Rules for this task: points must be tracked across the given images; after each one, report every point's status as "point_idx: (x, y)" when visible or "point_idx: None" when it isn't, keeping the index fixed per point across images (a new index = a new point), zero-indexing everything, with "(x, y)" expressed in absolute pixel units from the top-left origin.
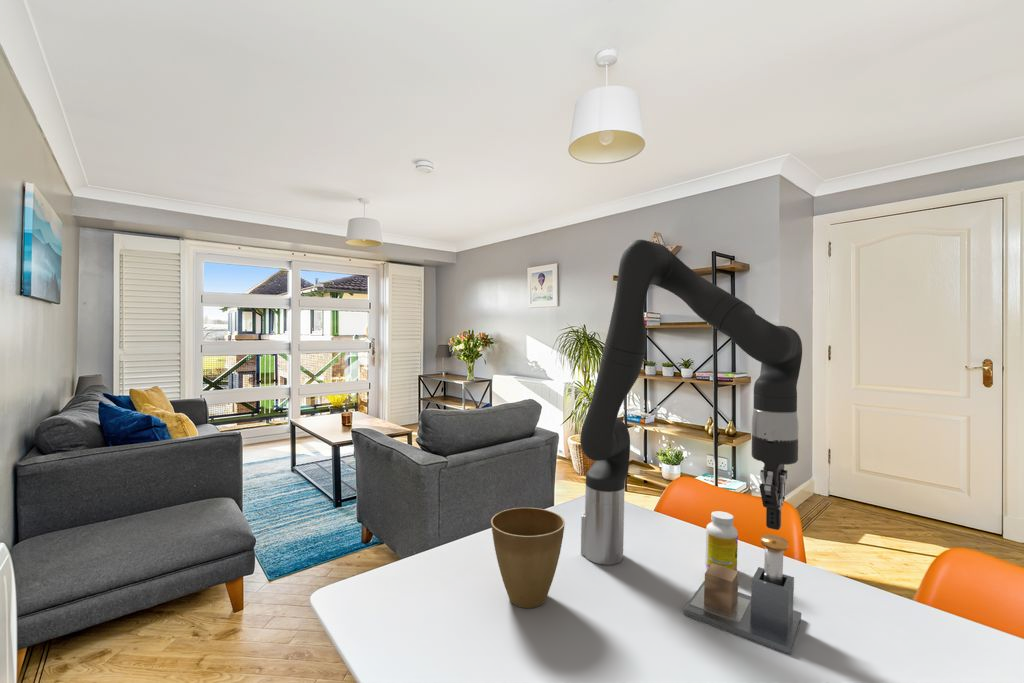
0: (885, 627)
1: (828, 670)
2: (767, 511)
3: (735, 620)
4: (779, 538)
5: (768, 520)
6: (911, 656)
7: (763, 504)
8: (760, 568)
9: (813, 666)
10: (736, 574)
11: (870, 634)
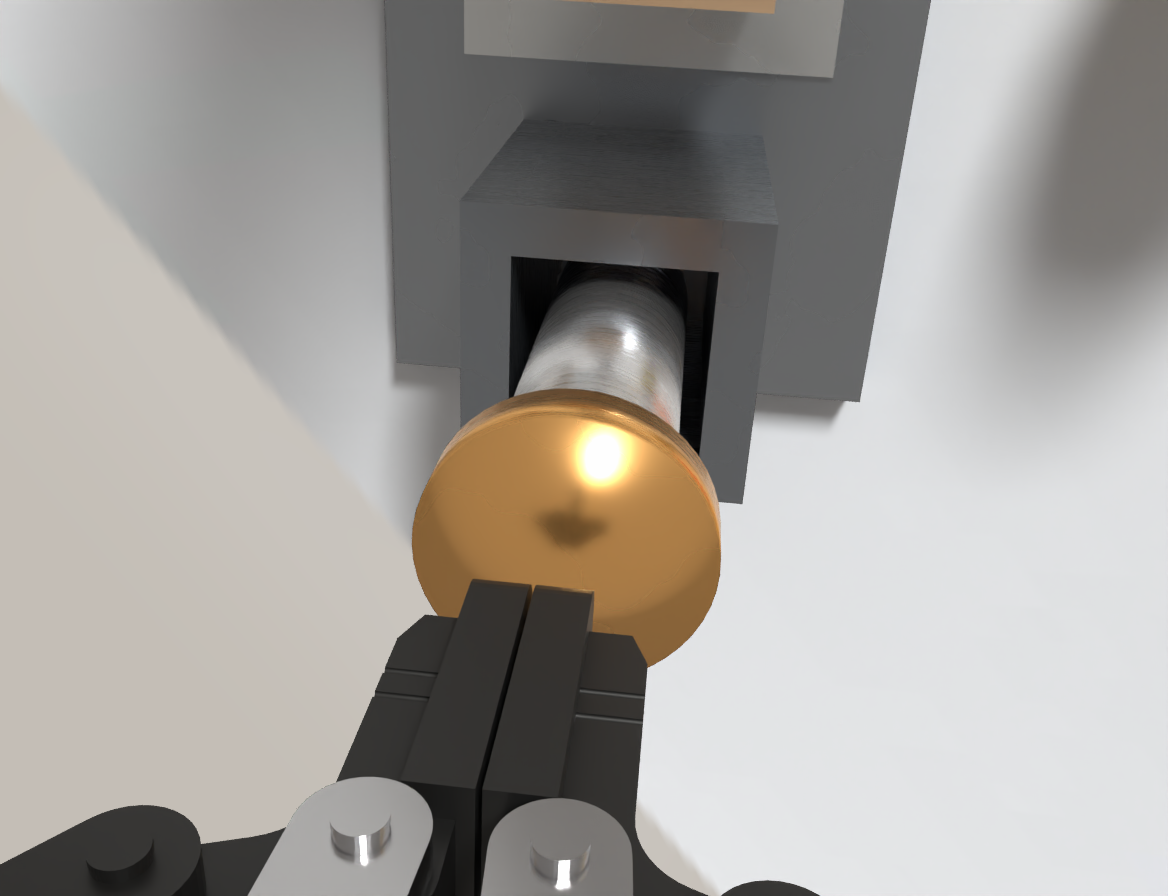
0: (1008, 750)
1: (405, 504)
2: (420, 745)
3: (465, 22)
4: (641, 605)
5: (388, 673)
6: (776, 803)
7: (24, 862)
8: (754, 244)
9: (388, 445)
10: (691, 7)
11: (886, 685)
